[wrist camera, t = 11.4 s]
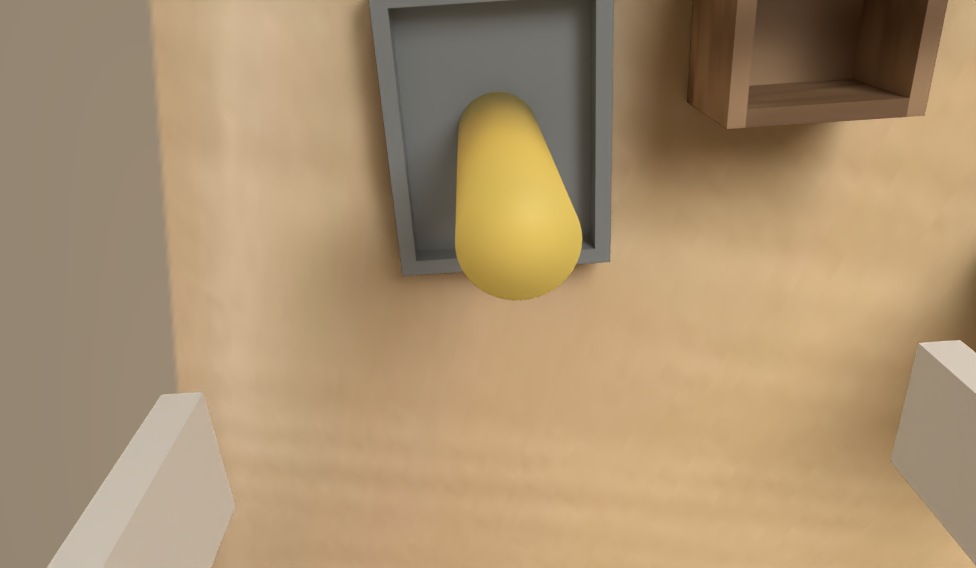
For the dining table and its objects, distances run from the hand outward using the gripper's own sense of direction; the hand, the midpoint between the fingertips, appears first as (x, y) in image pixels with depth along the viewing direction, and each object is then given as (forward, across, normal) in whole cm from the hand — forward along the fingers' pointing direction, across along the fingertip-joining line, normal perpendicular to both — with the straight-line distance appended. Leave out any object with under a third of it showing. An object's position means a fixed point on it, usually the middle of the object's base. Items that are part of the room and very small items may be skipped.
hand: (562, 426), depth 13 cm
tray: (+25, 0, 0) cm, 25 cm away
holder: (+26, +14, +5) cm, 29 cm away
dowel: (+25, 0, 0) cm, 25 cm away
